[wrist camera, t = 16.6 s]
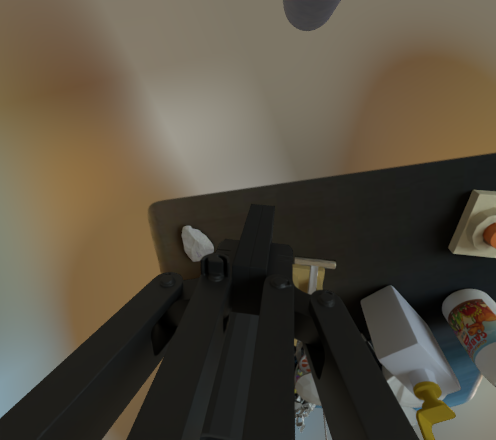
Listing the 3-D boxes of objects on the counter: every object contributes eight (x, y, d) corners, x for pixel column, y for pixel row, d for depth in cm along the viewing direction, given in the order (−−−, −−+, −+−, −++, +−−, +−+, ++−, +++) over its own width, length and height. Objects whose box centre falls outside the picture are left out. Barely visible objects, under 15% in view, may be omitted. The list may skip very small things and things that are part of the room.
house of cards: (312, 375, 64) (314, 411, 57) (324, 399, 67) (327, 435, 60) (274, 381, 66) (273, 415, 59) (288, 403, 69) (287, 439, 63)
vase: (275, 242, 49) (256, 433, 23) (288, 287, 53) (284, 494, 27) (221, 251, 52) (147, 434, 25) (237, 294, 56) (188, 489, 30)
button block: (472, 189, 41) (487, 198, 38) (525, 193, 40) (545, 203, 37) (447, 247, 45) (459, 260, 42) (494, 252, 45) (509, 265, 42)
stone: (193, 261, 53) (190, 267, 52) (173, 228, 51) (169, 233, 49) (218, 251, 52) (217, 256, 51) (199, 217, 50) (197, 222, 48)
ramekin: (367, 355, 58) (374, 380, 54) (423, 339, 54) (435, 363, 50) (390, 387, 62) (398, 413, 57) (444, 374, 58) (457, 400, 53)
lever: (294, 254, 43) (295, 257, 41) (334, 258, 43) (337, 261, 40) (286, 330, 44) (286, 337, 42) (325, 335, 44) (328, 343, 41)
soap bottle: (427, 323, 53) (516, 483, 32) (395, 338, 55) (456, 494, 35) (390, 282, 50) (461, 429, 29) (358, 299, 52) (401, 445, 32)
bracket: (290, 263, 51) (290, 317, 40) (324, 267, 50) (333, 322, 39) (286, 293, 54) (285, 350, 43) (318, 297, 54) (325, 356, 42)
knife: (383, 359, 59) (383, 361, 59) (376, 361, 59) (376, 363, 59) (365, 328, 55) (365, 330, 55) (357, 331, 56) (358, 332, 56)
